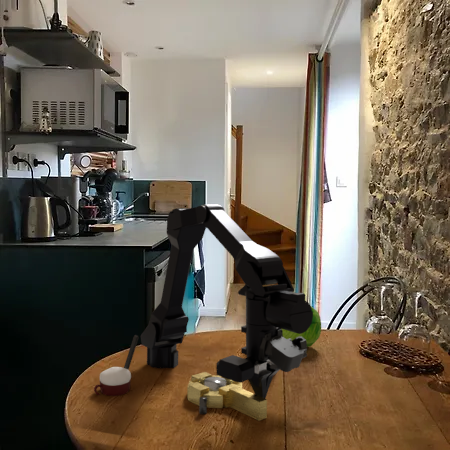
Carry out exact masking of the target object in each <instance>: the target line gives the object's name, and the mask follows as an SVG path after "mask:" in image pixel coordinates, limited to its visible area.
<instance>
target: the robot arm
mask: <svg viewBox="0 0 450 450" xmlns="http://www.w3.org/2000/svg"><path fill="white" fill-rule="evenodd" d="M166 218H167V220H166V235H167V237H168V240H169V242H170V245H171V246H170V250H169V257H168V261H167V267H166V271H165V272H166V273H165V278H164V282H163V287H162V288H163V289H162V294H161V299H160V303H159V304H158V305H157V306H156V307H155V309H153V311H152V313H151V315H150V318H149V322H148V325H147V326H146V327H145V328H144V330H143V332H142V333H141V335H140V343H141V345H142V346H143V347H146V366H150V367H151V368H155V369H175V368H176V367H177V366H178V365H179V350H178V349H177V348H178V347H177V345H178V344H180V345H181V344H182V343H183V341H184V336H185V333H188V324H189V321H190V318H189V317H188V316H187V315H186V313H185V311H184V308H183V303H184V299H185V298H184V297H185V292H186V289H187V283H188V278H189V273H190V267H191V263H192V258H193V253H194V249H195V248H196V247H197V245H198V244H199V243H201V241H202V240H203V238H204V235H205V232H206V229H207V230H208V231H209V232H211V234H212V235H213V236H214V237H215V238H216V240H217V241H218V242H219V243H220V245H221V246H223V247H224V248H225V250H226V251H227V252H228V253H229V255H230V256H231V257H232V259H233V260H234V261H235V262H234V263H235V270H236V272H237V274H238V275H239V277H240V278H241V280H242V281H243V283H244V285H243V287H241V288H240V289H239V290H237V294H238V295H239V296H243V297H245V325H242V326H240V329H241V330H240V332H241V333H244V334H245V346H243V347H241V349H240V353H241V354H242V355H246V357H241V356H238V355H234V354H232V355H230V356H226V357H224V358H221V359H219V360H218V361H217V362H216V363H215V364H216V367H215V368H216V376H221V377H224V378H227V379H230V380H232V381H235V382H241V383H243V382H246V381H248V382H249V385H250V386H251V388H252V390H253V393H254V394H256V395H258V396H260V397H263V398H265V399H267V395H268V392H269V390H270V386H271V383H272V380H273V378H274V376H275V375H276V374H277V373H278V372H279V371H281V372H284V373H289V372H291V370H294V369H297V368H300V365H301V363H302V360H303V359H305V358H306V357H308V353H307V351H308V347H307V342H306V339H304V338H303V337H301V336H300V337H297V338H295V339H293V340H292V339H291V338H289V339H286V338H284V337H283V331H282V329H284V330H288V331H291V332H294V333H298V334H302V333H304V332H306V331H307V330H308V328H309V327H310V325H311V323H312V320H313V311H312V309H311V304H310V303H309V302H308V301H306V294H305V293H303V292H294V291H295V288H294V286H293V284H292V281H291V279H290V277H289V275H288V273H287V272H286V270H285V267H284V263H283V260H282V258H281V257H280V256H279V255H278V254H276V252H273V251H272V250H270V249H269V248H267V247H265V246H263V245H260V244H257V242H255V241H253V240H252V239H251V238H250V237H249V236H248V235H247V233H245V232H244V230H242V228H241V227H240V226H239V224H237V223H236V222H235V221H234V220H233V218H232V217H231V216H229V215H228V214H227V212H226V211H225V208H224V207H223V206H222V205H220V204H215V203H212V204H211V203H210V204H207V203H206V204H205V203H203V204H201V205H198V206H196V207H191V208H190V207H188V208H186V207H185V208H183V207H182V208H173V209H172V210H170V211H169V213H168V215H167V217H166ZM275 373H276V374H275ZM274 374H275V375H274Z"/></svg>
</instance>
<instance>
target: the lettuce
mask: <svg viewBox="0 0 450 450" xmlns="http://www.w3.org/2000/svg"><path fill="white" fill-rule="evenodd" d="M310 306H311V305H310ZM311 309H312V311H313V320H312V323H311V325H310V327H309V328H308V330H307V331H306V332H304V333H302V334H298V333H294V332H291V331H288V330H284V329H282V331H283V337H284V338H286V339H289V338H291V339H292V340H293V339H295V338H297V337H300V336H301V337H303V338H304V339H306V342H307V348H309V347H312V346H313V345H314V344H315V343H316V342H317V341H318V340H319V338H320V337H321V334H322V321H321V316H320V314H319V312H318V311H317V310H316V308H314V307H313V306H311Z"/></svg>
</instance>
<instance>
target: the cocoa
mask: <svg viewBox="0 0 450 450" xmlns="http://www.w3.org/2000/svg"><path fill="white" fill-rule="evenodd" d="M138 341H139V335H137V334H135V335H134V336H133V338H132V341H131V343H130V347H129V350H128V353H127V354H128V355H127V357H126V359H125V363H124V365H123V367H121V366H112V367H109V368H107V369H105V370H103V371H101V372H100V373H99V384H96V385H95V386H94V388H93V390H94V393H95V394H96V395H98V396H99V395H100V396H101V393H102V394H103V395H105V396H109V397H110V396H112V397H115V396H117V397H118V396H122V395H124V394H127V393H128V392H129V391H130V390H131V389H130V388H131V382H132V381H131V378H132V374H131V371H130V370H129V369H130V365H131V363H132V360H133V357H134V354H135V351H136V347H137V344H138ZM98 388H100V393H98V391H97V389H98Z"/></svg>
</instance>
